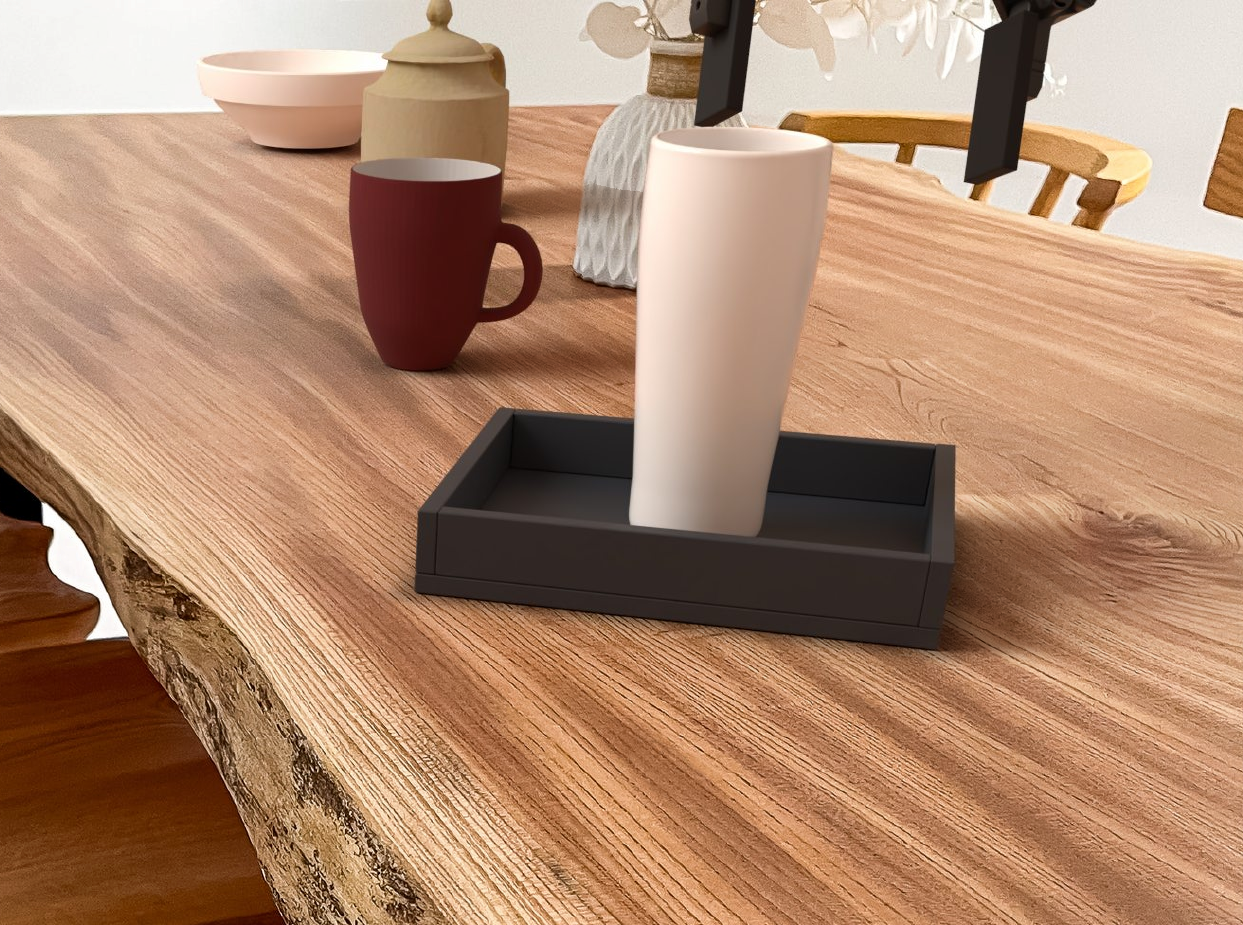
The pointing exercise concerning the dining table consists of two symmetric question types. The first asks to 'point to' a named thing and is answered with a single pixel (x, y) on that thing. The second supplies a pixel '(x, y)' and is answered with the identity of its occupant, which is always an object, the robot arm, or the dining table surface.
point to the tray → (697, 534)
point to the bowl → (293, 93)
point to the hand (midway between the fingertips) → (857, 149)
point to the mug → (431, 255)
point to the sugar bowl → (438, 98)
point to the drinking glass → (720, 317)
